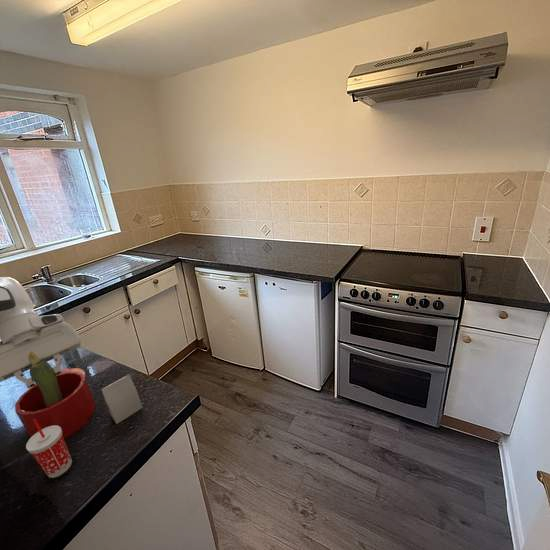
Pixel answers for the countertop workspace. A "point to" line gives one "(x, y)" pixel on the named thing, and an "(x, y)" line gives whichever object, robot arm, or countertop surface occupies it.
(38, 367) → the vegetable
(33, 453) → the beverage cup
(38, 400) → the pot
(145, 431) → the countertop surface
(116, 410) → the grey rectangular block
